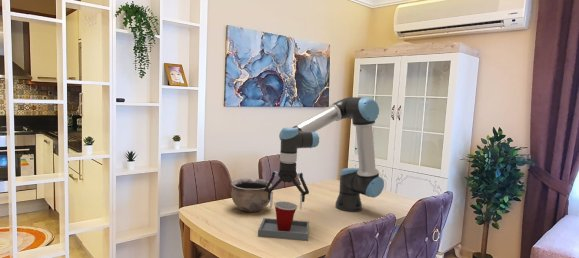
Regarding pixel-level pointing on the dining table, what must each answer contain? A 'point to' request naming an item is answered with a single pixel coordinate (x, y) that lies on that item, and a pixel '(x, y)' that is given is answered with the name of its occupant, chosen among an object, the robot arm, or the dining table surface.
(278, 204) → the plastic cup
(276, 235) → the cup tray
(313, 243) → the dining table surface
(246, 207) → the ceramic bowl
